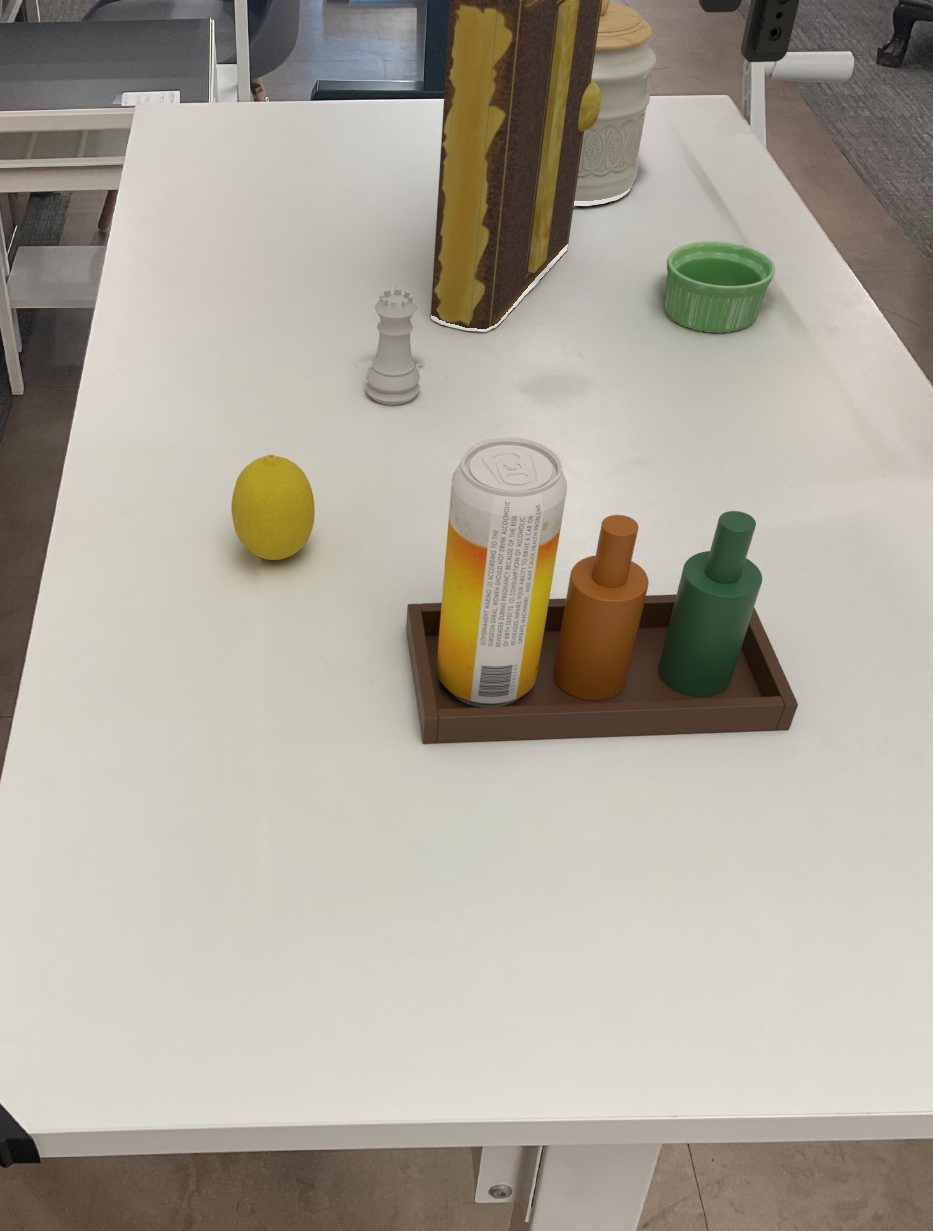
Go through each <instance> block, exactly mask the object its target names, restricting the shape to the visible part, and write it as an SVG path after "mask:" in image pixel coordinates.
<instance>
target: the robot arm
mask: <svg viewBox="0 0 933 1231" xmlns="http://www.w3.org/2000/svg"><path fill="white" fill-rule="evenodd" d="M742 1H743V0H698V4H699V7H700V8H701V9H702V10H703V11H704V12H705V13H710V14H711V13H733V12H735V11H737V10H738V9H739V8H740V6H741V4H742ZM799 5H800V0H750V4H749V9H748V12H747V17H746V22H745V27H744V32H743V36H742V39H741V45H740V54H741V55H742V57H743V58H744V59H745V60H746V61H747V62H749V63H776V62H779V61H782V60H783V59H784V58H785V57H786V55H787V53H788V50H789V46H790V42H791V38H792V34H793V28H794V26H795V21H796V17H797V12H798V8H799Z"/></svg>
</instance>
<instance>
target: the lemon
mask: <svg viewBox="0 0 933 1231" xmlns="http://www.w3.org/2000/svg"><path fill="white" fill-rule="evenodd" d="M313 493H314V492H313V488H312V486H311V483H310V481H309V479H308V477H307V475H306V473H305V472H304V471H303V469H302V468H301V467H300V466H299V465H298V464H296V462H294V461H292V460H290V459H289V458H286V457H283V456H280V455H275V454H267V455H265V456H261V457H258V458H256V459H254V460H253V461H251V462H249V463H248V464H247V465H246V466H245V467H244V468H243V469H242V471H241V472H240V473H239V475H238V477H237V478H236V481H235V484H234V488H233V490H232V497H231V506H230V507H231V517H232V518H231V519H232V524H233V528H234V531H235V533H236V536H237V537H238V538H237V539H239V541H240V542H241V544H242V545H243V547H244V548H245V549H246V550H247V551H249V552H250V553H251V554H252V555H254V556H256V557H258V558H260V559H264V560H270V561H279V560H284V559H287V558H290V557H292V556H293V555H295V554H296V553H298V552H300V550H301V549H302V548H303V547H304V546H305V545H306V544H307V542H308V540H309V539H310V536H311V533H312V531H313V528H314V524H315V517H316V514H315V513H316V510H315V498H314V494H313Z"/></svg>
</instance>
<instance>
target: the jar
mask: <svg viewBox="0 0 933 1231" xmlns="http://www.w3.org/2000/svg"><path fill="white" fill-rule="evenodd" d="M652 35H653V28H652V26H651V24H650V23H648V22H647V21H646V20H645V19H643V18H642V17H641V16H640V13H639V12H638V11H637V10H636V9H634V8H632V7H630V6H627V5H625V4H621V3H617V2H612V1H611V0H602V7H601V14H600V21H599V28H598V35H597V43H596V50H595V57H594V64H593V71H592V78H591V80H593V81H594V82H595V83H596V84H597V85H598V87H599V88H600V89H601V95H602V99H601V106H600V113H599V116H598V118H597V120H596V123H595V124H594V125H593V126H592V127H590V128H589V129H587V130H586V131H584V136H583V143H582V150H581V157H580V164H579V171H578V179H577V186H576V193H575V200H574V201H594V200H602V199H607V198H611V197H614V196H617V195H620V194H622V193H624V192H625V191H627V190H628V189H629V188H630V187H631V186H632V187H633V185H634V182H635V180H636V178H637V175H638V168H639V153H640V147H641V141H642V136H643V129H644V124H645V118H646V113H647V107H648V105H649V104H650V101H651V95H650V92H649V90H648V79H649V73H651V71H652V70H653V69H654V68H655V66H656V64H657V55H656V54H655V52H654V51H653V49H651V48H650V47H649V46H648V45H647V42H648V40H649V39H651V36H652ZM632 184H633V185H632Z"/></svg>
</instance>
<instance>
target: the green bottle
mask: <svg viewBox="0 0 933 1231" xmlns="http://www.w3.org/2000/svg"><path fill="white" fill-rule="evenodd" d="M756 527H757V522H756V519H755V518H754V517H753V516H752V515H750V514H748V513H746V512H744V511H739V510H729V511H725V512H723V513H722V514H720V515H719V517H718V520H717V523H716V527H715V531H714V534H713V539H712V542H711V546H710V550H706V551H702V552H698V553H695V554H692V556H690V557H689V558H688V559H687V560H685V562H684V564H683V567H682V571H681V575H680V580H679V583H678V586H677V591H676V594H677V595H676V599H675V603H674V607H673V610H672V614H671V618H670V622H669V626H668V630H667V634H666V638H665V642H664V646H663V650H662V654H661V658H660V662H659V666H658V671H659V675H660V677H661V679H662V680H663V681H664V683H665V684H667V685H668V686H669V687H670V688H672V689H674V690H675V691H677V692H680V693H682V694H685V695H689V696H696V697H708V696H713V695H716V694H719V693H721V692H723V691H724V690H725V689H726V688H727V687H728V686H729V684H730V682H731V679H732V676H733V673H734V670H735V666H736V663H737V660H738V657H739V654H740V650H741V647H742V644H743V641H744V638H745V635H746V631H747V628H748V625H749V622H750V619H751V615H752V612H753V609H754V607H755V605H756V602H757V599H758V596H759V593H760V589H761V587H762V584H763V575H762V572H761V570H760V568H759V567H758V566H757V565H756V563H754V562H753V561H752V560H750V559H748V558H747V557H748V554H749V550H750V547H751V543H752V540H753V537H754V533H755V530H756Z"/></svg>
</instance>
